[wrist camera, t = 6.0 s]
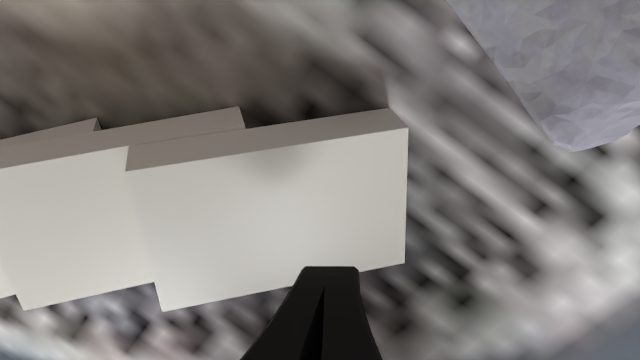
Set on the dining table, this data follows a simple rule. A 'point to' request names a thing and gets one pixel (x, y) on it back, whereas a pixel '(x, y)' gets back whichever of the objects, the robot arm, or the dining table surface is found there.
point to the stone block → (565, 62)
